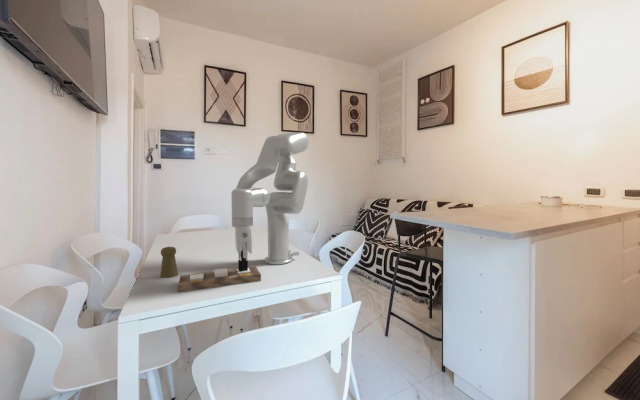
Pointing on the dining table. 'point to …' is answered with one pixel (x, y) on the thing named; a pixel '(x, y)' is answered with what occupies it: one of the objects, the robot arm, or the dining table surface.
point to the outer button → (196, 277)
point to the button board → (217, 280)
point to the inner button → (243, 272)
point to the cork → (168, 262)
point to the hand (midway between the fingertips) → (243, 270)
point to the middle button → (220, 272)
